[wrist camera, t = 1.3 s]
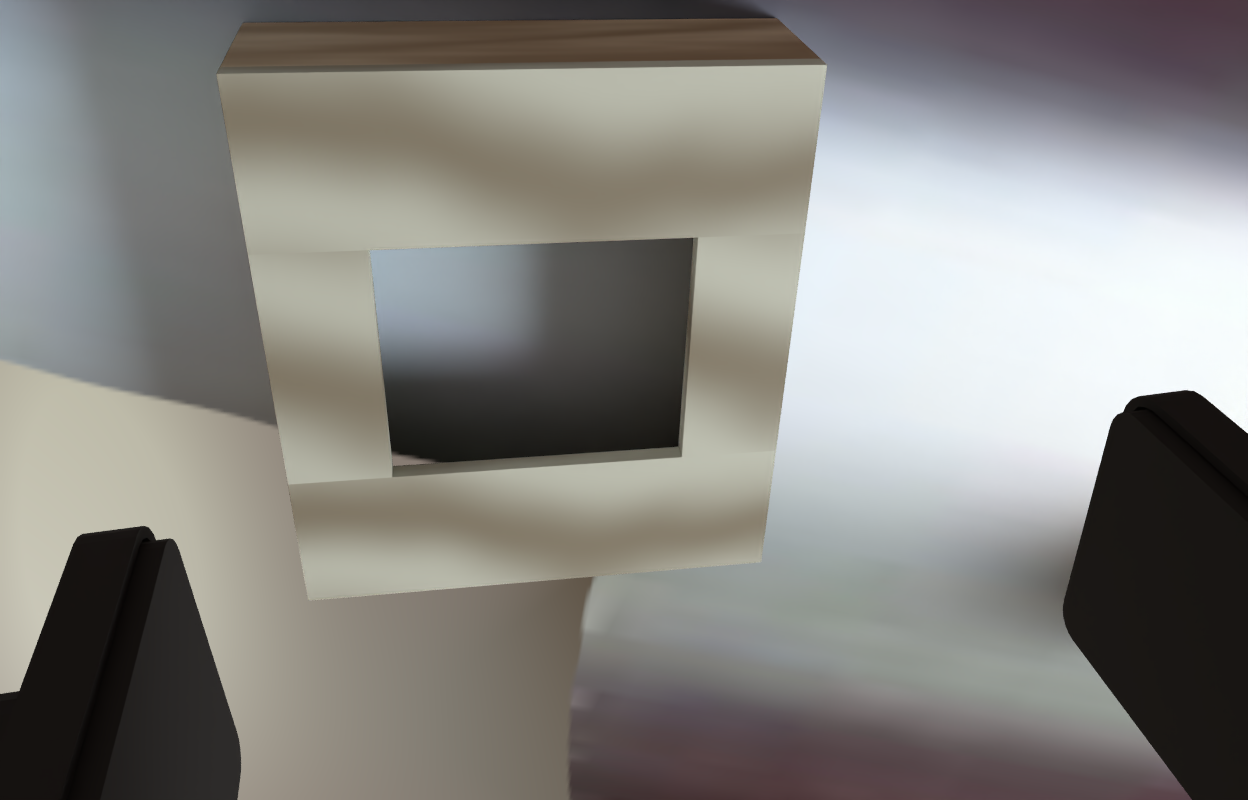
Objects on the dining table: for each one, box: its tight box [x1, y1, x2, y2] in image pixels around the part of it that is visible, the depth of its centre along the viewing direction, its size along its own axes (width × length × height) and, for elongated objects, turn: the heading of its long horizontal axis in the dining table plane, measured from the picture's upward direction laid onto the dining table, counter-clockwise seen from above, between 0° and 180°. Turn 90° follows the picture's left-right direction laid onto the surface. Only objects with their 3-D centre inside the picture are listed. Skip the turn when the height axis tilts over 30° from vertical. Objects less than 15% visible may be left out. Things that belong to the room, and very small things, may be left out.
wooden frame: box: [216, 18, 827, 601], centre depth 35 cm, size 18×16×5 cm
